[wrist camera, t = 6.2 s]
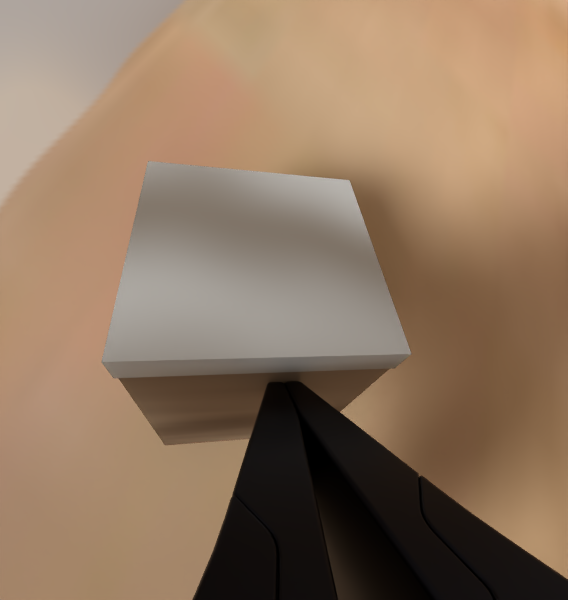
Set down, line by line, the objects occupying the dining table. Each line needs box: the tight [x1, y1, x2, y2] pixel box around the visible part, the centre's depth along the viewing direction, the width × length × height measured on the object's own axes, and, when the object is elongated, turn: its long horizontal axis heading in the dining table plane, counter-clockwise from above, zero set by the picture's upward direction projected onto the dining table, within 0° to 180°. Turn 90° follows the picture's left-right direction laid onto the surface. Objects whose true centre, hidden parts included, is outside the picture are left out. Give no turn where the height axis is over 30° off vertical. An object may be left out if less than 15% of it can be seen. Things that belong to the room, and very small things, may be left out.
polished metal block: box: [102, 161, 411, 445], centre depth 11 cm, size 6×6×8 cm
